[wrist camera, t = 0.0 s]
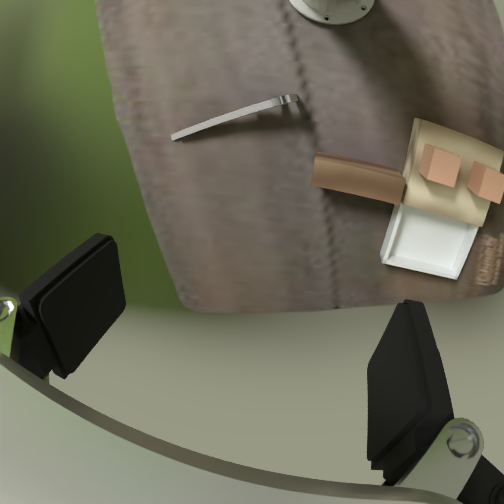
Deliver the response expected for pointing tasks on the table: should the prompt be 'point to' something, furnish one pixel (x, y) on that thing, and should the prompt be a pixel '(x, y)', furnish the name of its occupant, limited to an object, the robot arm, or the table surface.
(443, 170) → the pink cube
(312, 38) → the table surface
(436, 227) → the tray
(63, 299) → the robot arm
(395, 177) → the brown tapered block
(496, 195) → the tan wooden cube
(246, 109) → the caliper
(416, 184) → the beige flat block
